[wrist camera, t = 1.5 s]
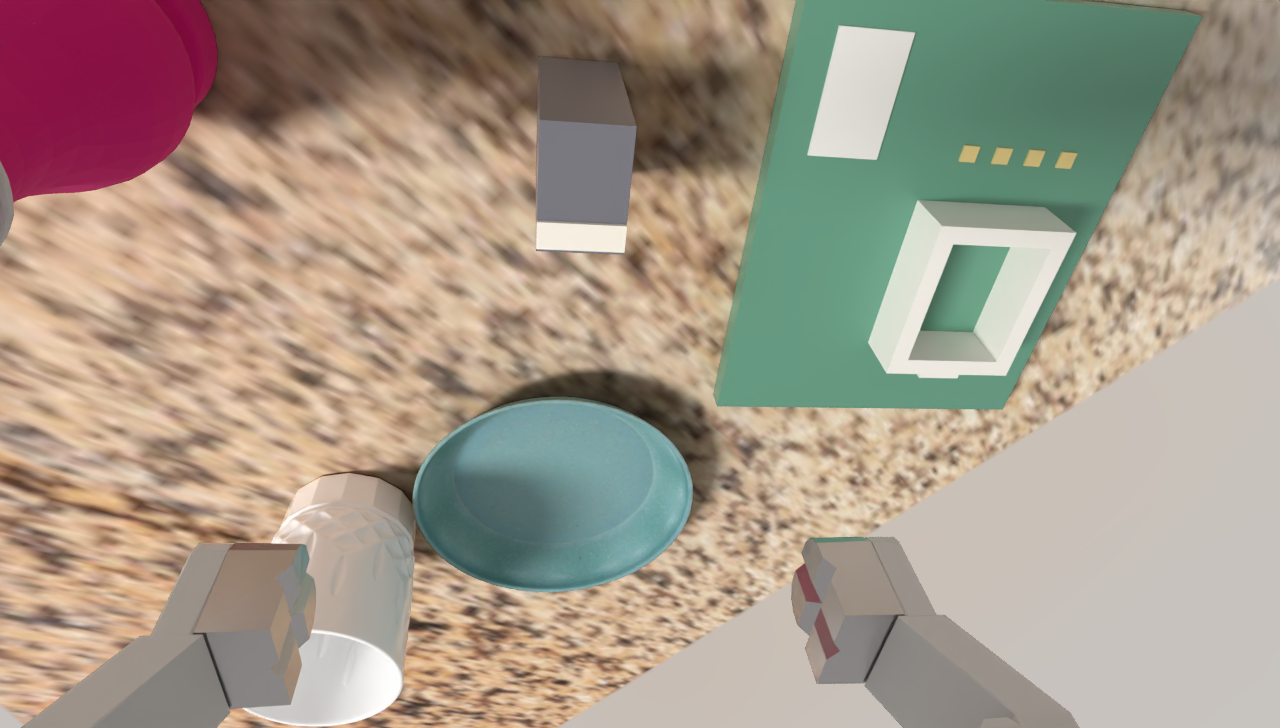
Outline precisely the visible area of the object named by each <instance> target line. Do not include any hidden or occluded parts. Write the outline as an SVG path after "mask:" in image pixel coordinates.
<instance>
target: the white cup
mask: <svg viewBox="0 0 1280 728" xmlns="http://www.w3.org/2000/svg"><path fill="white" fill-rule="evenodd" d="M415 533H416V519H415V514H414V509H413V505H412V503H411V502H410V501H409V499H408V498H407V497H406V496H405V494H404V493H403V492H402V491H401V490H400V489H398V488H396V487H394V486H393V485H391V484H389V483H387V482H385V481H383V480H381V479H380V478H376V477H371V476H365V475H360V474H354V473H344V474H336V475H329V476H322V477H319V478H318V479H316V480H314V481H312V482H310V483H309V484H307V485H305V486H303V487H301V488H300V489H299V490H298V491H297V493H296V495H295V497H294V498H293V500H292V502H291V504H290V506H289V507H288V510H287V512H286V515H285V517H284V520H283V522H282V525H281V527H280V529H279V531H278V532H277V533H276V534H275V536H274V538H273V540H272V542H271V543H275V544H304V545H306V546H307V550H308V554H309V558H310V560H309V564H308V567H307V570H306V573H308V574H309V575H310V576H312V577H313V578H314V582H315V587H316V610H315V618H314V624H313V627H312V631H311V635H310V639H309V640H308V641H307V642H305V643H304V644H303V645H302V646H301V647H300V648H299V653H300V657H301V662H302V667H301V671H300V674H299V678H298V681H297V685H296V688H295V692H294V695H293V699H292V702H291V705H282V706H267V707H252V708H242V709H244V710H246V711H248V712H250V713H252V714H254V715H256V716H259V717H261V718H264V719H268V720H271V721H275V722H279V723H284V724H290V725H298V726H334V725H342V724H347V723H352V722H356V721H360V720H363V719H366V718H368V717H371V716H373V715H375V714H377V713H379V712H381V711H383V710H384V709H386V708H387V707H388V706H390V705H391V704H392V703H393V702H394V701H395V700H396V699H397V697H398V696H399V694H400V692H401V690H402V687H403V681H404V670H405V660H406V649H407V639H408V630H409V620H410V611H411V601H412V590H413V571H414V561H415V555H414V552H413V550H414V542H415Z"/></svg>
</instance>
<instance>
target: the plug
mask: <svg viewBox="0 0 1280 728" xmlns="http://www.w3.org/2000/svg"><path fill="white" fill-rule="evenodd" d="M636 130H637V125H636V122H635V118H634V115H633V112H632V109H631V105H630V102H629V99H628V95H627V92H626V89H625V86H624V82H623V79H622V76H621V72H620V69H619V66H618V63H617V62H604V61H592V60H579V59H567V58H554V57H542V56H539V68H538V107H537V146H536V251H549V252H573V253H597V254H622V255H623V254H624V251H625V241H626V232H627V216H628V207H629V197H630V188H631V178H632V169H633V159H634V149H635V140H636Z"/></svg>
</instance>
